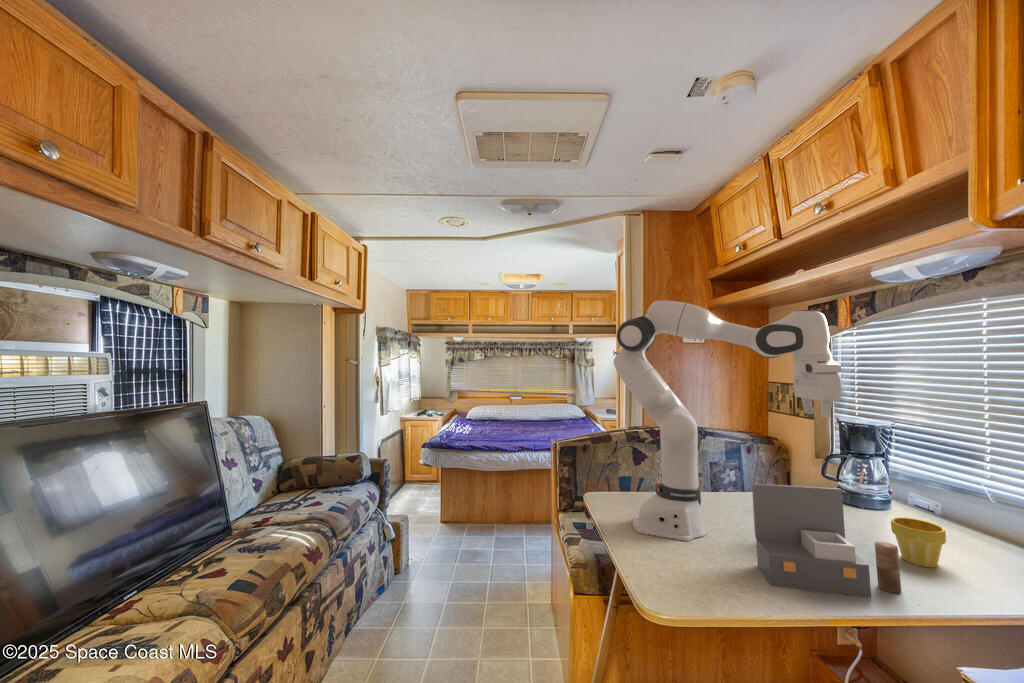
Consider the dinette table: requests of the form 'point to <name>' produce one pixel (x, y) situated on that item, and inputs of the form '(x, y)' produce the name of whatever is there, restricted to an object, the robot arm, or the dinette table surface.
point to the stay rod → (888, 567)
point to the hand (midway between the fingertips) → (817, 415)
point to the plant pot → (919, 540)
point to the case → (806, 540)
